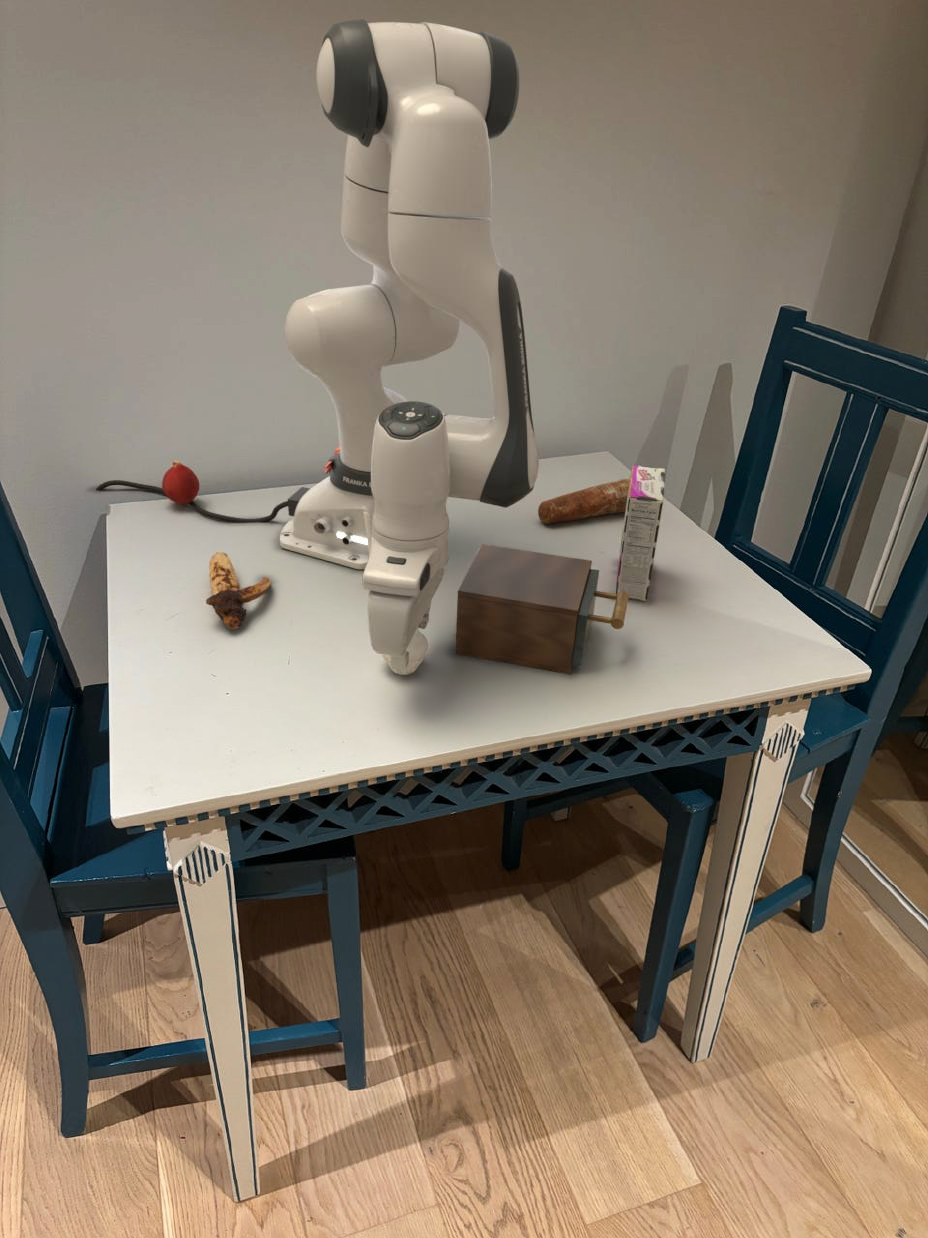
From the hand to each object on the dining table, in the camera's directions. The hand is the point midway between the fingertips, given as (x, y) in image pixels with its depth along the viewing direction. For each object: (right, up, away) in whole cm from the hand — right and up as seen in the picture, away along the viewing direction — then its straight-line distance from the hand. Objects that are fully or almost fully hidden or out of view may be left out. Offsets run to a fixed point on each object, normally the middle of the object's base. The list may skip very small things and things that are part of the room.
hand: (410, 645), depth 111 cm
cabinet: (+14, +1, +9) cm, 17 cm away
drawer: (+18, +1, +8) cm, 20 cm away
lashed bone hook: (-25, +6, +15) cm, 30 cm away
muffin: (-1, -3, +2) cm, 4 cm away
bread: (+28, +21, +41) cm, 54 cm away
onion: (-40, +22, +39) cm, 60 cm away
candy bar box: (+32, +9, +23) cm, 40 cm away
